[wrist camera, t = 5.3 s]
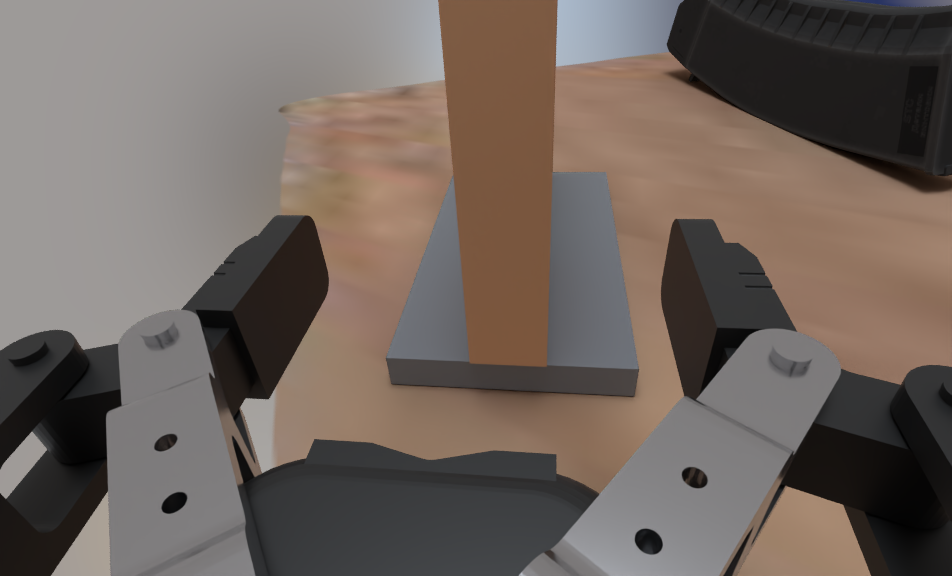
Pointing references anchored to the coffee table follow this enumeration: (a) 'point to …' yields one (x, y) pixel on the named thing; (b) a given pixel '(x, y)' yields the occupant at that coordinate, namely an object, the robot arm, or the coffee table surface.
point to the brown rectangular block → (502, 169)
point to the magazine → (830, 71)
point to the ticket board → (569, 314)
